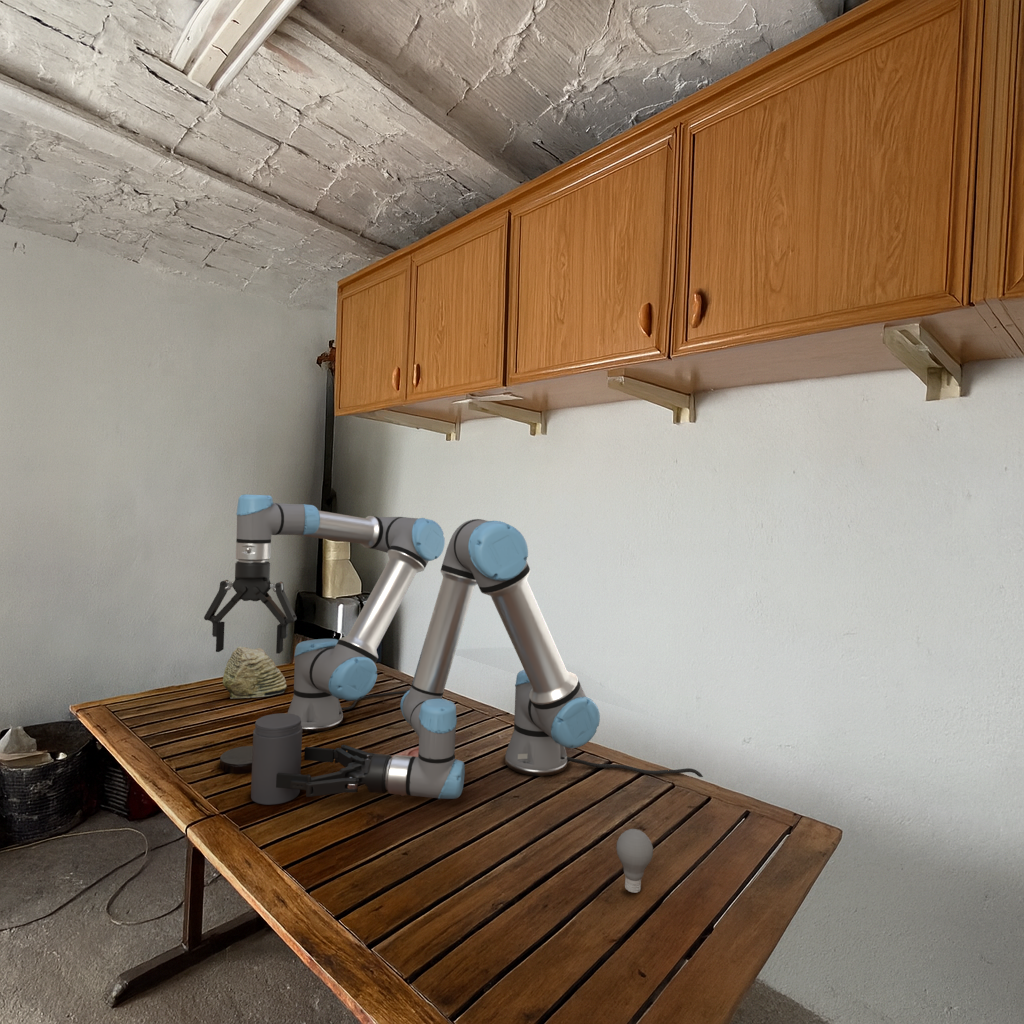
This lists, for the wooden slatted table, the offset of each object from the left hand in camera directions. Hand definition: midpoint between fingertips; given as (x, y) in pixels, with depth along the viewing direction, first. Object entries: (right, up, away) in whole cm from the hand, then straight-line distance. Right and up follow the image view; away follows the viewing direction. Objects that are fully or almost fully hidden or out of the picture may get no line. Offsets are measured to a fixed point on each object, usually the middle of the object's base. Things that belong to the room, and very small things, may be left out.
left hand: (249, 651), depth 148 cm
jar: (+11, -27, -14) cm, 32 cm away
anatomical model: (+35, -28, +2) cm, 45 cm away
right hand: (+15, -21, -14) cm, 29 cm away
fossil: (-19, -25, +50) cm, 59 cm away
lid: (-1, -25, 0) cm, 25 cm away
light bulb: (+81, -31, -42) cm, 97 cm away
